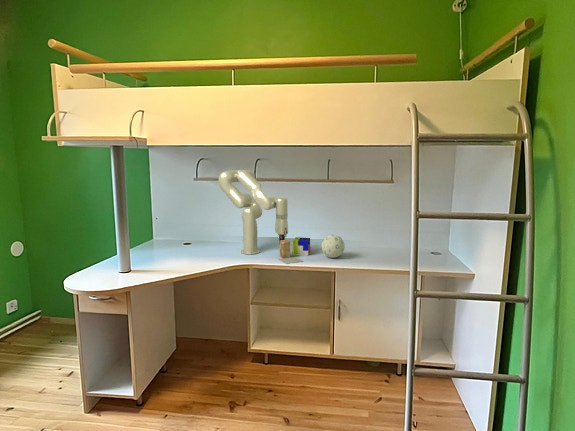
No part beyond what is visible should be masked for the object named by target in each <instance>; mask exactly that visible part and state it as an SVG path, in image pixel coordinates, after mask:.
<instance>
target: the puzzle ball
mask: <svg viewBox="0 0 575 431" xmlns="http://www.w3.org/2000/svg"><path fill="white" fill-rule="evenodd" d="M320 246H321V251H322V253H323V254H324V255H325V256H326V257H328V258H331V259H335V258H338V257H339V256H341V255H342V254H343V253H344V251H345V242H344V240H343V239H342V237H341V236H339V235H338V234H329V235H326V236H325V237H324V238H323V239H322V240H321V244H320Z"/></svg>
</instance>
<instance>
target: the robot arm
mask: <svg viewBox="0 0 575 431" xmlns="http://www.w3.org/2000/svg"><path fill="white" fill-rule="evenodd" d="M255 177H256V176H255V173H254V171H253V170H251V169H236V170H235V169H234V170H233V169H232V170H224V171H222V172H221V173H220V174H219V176H218V186H219V188H220V190H221V191H222V192H223V193H224V194H225V195H226V196H227V197H228V199H229V200H230V201H231V203H232V204H233V205H234V206H235V208H236V209H237V208H238V209H243V210H242V211H241V219H242V230H243V234H242V235H243V236H242V239H243V240H242V242H243V245H242V246H243V247H242V248H243V249H242V250H241V251H240V252H241V254H243V255H257V254H259V253H260V249H258V222H257V219H260V218H261V216H262V215H263V209H264V210H267V211H269V210H273V209H275V223H274V224H275V225H274V232H275V234H276V235H278V240H279V241H278V242H279V244H278V245H280V241H281V240H286V237H288V236H287V235H288V232H289V224H288V212H289V211H288V198H286V197H276V196H275V197H274V196H271V197H267V195H265V194H264V193H263V192H262V188H261V187H262V184H261V182H259V181H258V180H257V179H256V178H255ZM233 183H234V184H235V183H240V184H241V185H243V186H244V187H245V189H247V190H248V191H249V192H250V193H251V194H249V193H245V192H243V193H242V192H241V191H240V190H239V189H238V187H236V185H234V184H233Z"/></svg>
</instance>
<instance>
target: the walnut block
mask: <svg viewBox="0 0 575 431" xmlns="http://www.w3.org/2000/svg"><path fill="white" fill-rule="evenodd" d="M279 258H280V259H284V258H291V241H290V240H288V239H285V240H281V241H280V244H279Z"/></svg>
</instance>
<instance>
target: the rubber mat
mask: <svg viewBox="0 0 575 431" xmlns="http://www.w3.org/2000/svg"><path fill="white" fill-rule="evenodd" d="M278 260H279V261H280V262H282V263H284V264H286V265H289V264H295V263H303V262H305V260H302V259H301V258H298V257H296V256H293V257H291V256H290V258H284V259H283V258H279V259H278Z"/></svg>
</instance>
